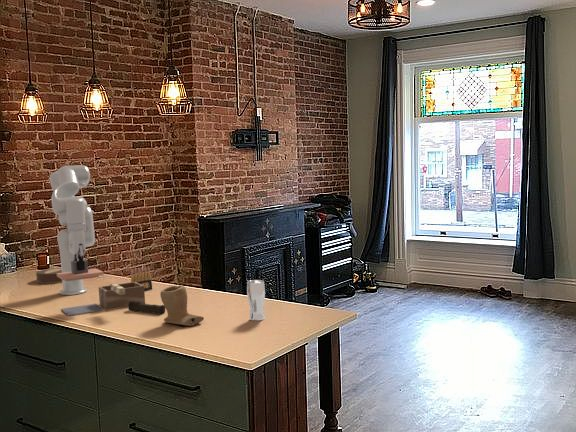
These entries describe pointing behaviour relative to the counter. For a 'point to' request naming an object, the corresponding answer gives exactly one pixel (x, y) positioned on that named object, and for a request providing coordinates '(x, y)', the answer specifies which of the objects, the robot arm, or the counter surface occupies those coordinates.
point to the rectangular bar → (117, 289)
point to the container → (49, 276)
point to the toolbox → (115, 300)
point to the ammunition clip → (142, 278)
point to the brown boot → (178, 306)
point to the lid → (79, 273)
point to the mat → (82, 309)
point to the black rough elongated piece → (146, 307)
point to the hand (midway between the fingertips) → (79, 269)
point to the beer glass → (256, 299)
